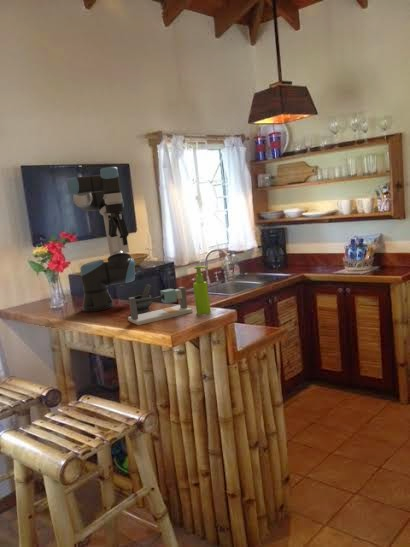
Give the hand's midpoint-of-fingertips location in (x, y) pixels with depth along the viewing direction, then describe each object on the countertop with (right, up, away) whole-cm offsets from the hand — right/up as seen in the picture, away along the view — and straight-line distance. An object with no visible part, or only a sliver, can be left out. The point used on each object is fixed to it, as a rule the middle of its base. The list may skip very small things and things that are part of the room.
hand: (120, 252), depth 221 cm
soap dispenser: (+37, -26, -9) cm, 46 cm away
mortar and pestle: (+9, -27, +8) cm, 30 cm away
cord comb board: (+18, -28, -5) cm, 33 cm away
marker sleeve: (+22, -22, -4) cm, 31 cm away
